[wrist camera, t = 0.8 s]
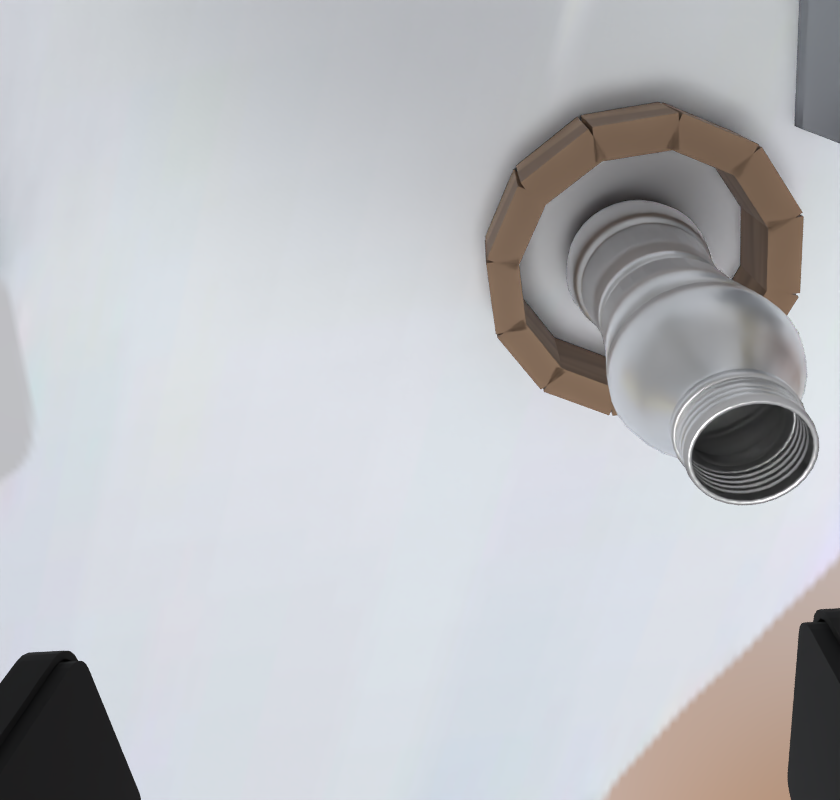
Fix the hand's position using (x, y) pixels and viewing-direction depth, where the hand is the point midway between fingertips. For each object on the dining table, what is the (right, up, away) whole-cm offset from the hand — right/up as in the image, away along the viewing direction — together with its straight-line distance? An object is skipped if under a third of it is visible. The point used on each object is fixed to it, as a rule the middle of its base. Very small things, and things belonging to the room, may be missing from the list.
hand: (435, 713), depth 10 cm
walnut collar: (+10, +12, +30) cm, 34 cm away
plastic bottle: (+10, +12, +30) cm, 34 cm away
